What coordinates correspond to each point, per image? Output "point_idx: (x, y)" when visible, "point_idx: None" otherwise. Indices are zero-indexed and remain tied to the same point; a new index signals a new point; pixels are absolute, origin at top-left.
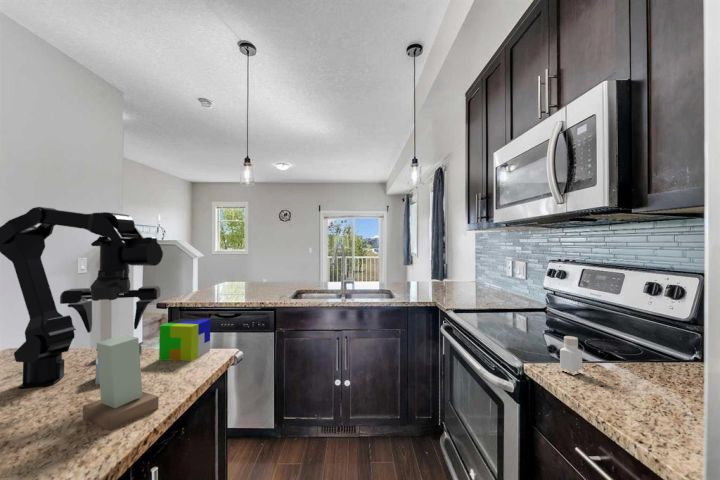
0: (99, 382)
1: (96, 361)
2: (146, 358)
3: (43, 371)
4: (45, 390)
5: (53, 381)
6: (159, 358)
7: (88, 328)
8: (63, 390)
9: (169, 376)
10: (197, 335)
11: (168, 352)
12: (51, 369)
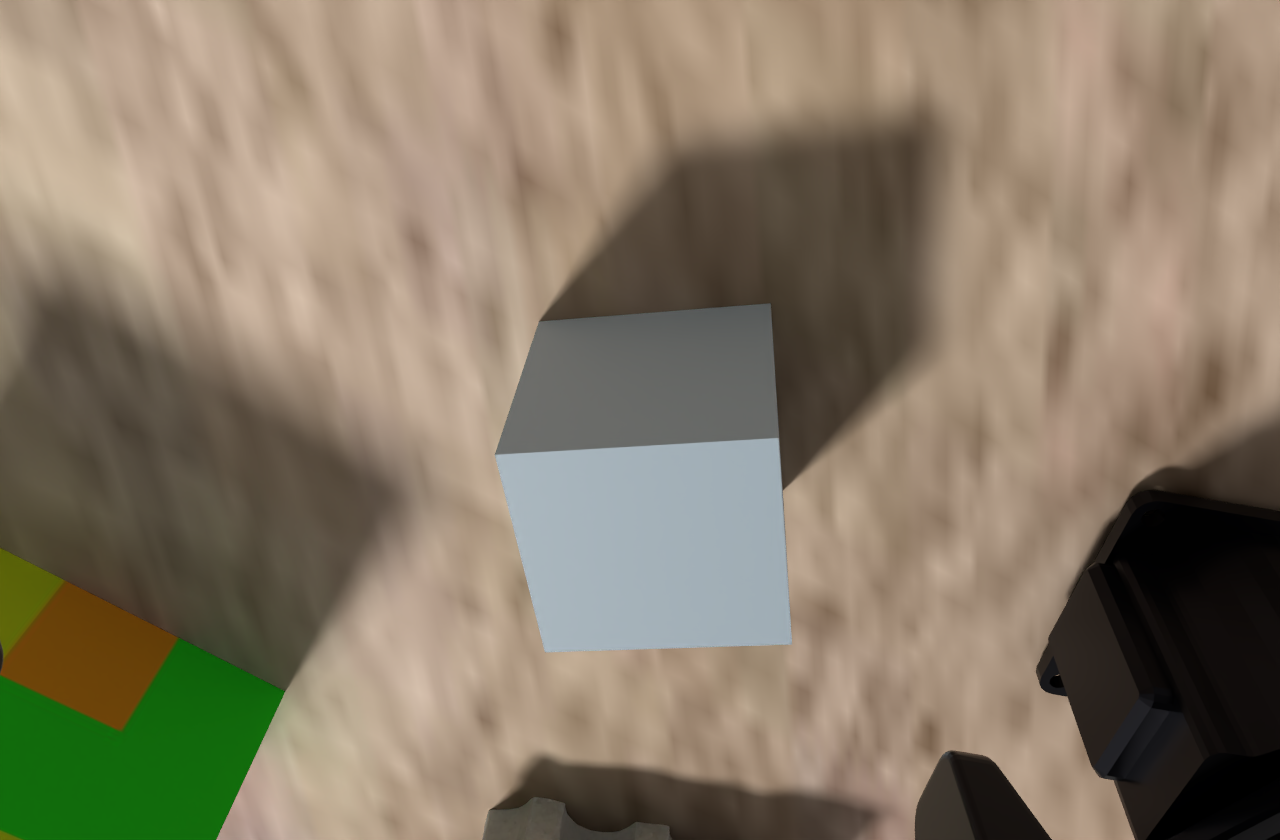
0: (735, 315)
1: (780, 531)
2: (406, 764)
3: (1272, 622)
4: (1203, 381)
5: (1136, 532)
6: (276, 698)
7: (996, 830)
8: (1056, 290)
9: (23, 149)
10: None
11: (157, 707)
12: (1198, 642)
